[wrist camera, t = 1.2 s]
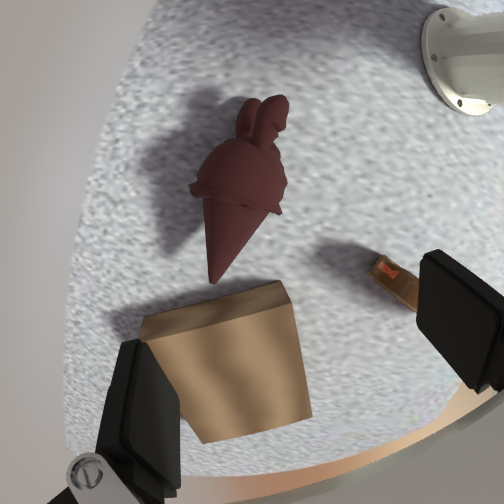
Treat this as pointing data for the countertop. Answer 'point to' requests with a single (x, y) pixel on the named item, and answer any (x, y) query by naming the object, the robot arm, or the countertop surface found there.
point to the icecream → (242, 182)
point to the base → (233, 362)
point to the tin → (396, 281)
